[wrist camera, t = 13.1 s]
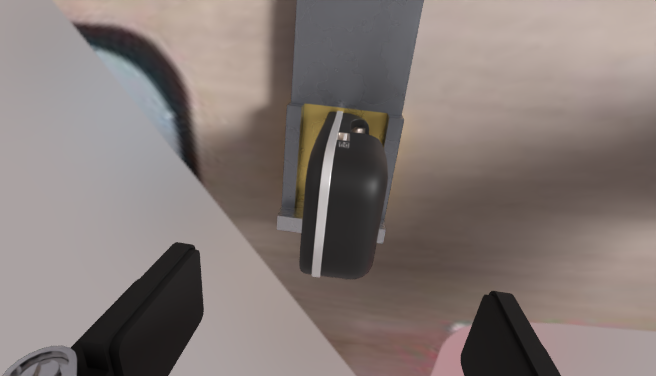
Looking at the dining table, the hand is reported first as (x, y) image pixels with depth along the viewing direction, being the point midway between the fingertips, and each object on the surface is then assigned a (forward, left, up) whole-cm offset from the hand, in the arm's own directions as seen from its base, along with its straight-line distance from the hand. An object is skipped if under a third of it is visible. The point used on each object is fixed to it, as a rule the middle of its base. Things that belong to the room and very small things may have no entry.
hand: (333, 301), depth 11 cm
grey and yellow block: (+1, -4, -18) cm, 18 cm away
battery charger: (0, 0, -16) cm, 16 cm away
